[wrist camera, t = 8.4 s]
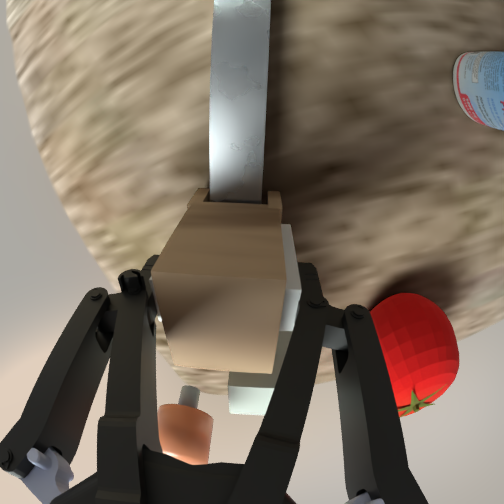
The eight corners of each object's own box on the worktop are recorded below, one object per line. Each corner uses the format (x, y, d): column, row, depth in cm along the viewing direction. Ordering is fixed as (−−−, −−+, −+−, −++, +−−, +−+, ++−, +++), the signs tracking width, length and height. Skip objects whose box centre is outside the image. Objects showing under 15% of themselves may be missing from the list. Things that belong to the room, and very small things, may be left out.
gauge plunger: (160, 372, 15) (140, 444, 11) (215, 380, 15) (204, 456, 11) (170, 397, 17) (156, 459, 12) (218, 404, 17) (210, 469, 12)
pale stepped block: (186, 276, 23) (151, 375, 14) (289, 282, 23) (298, 388, 14) (191, 310, 25) (164, 404, 16) (283, 316, 25) (288, 415, 16)
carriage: (198, 188, 18) (145, 270, 10) (279, 191, 18) (292, 280, 10) (202, 262, 21) (170, 364, 13) (273, 266, 21) (275, 373, 13)
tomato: (444, 270, 21) (499, 353, 12) (415, 342, 27) (444, 418, 18) (346, 278, 22) (382, 388, 13) (333, 354, 28) (347, 443, 19)
